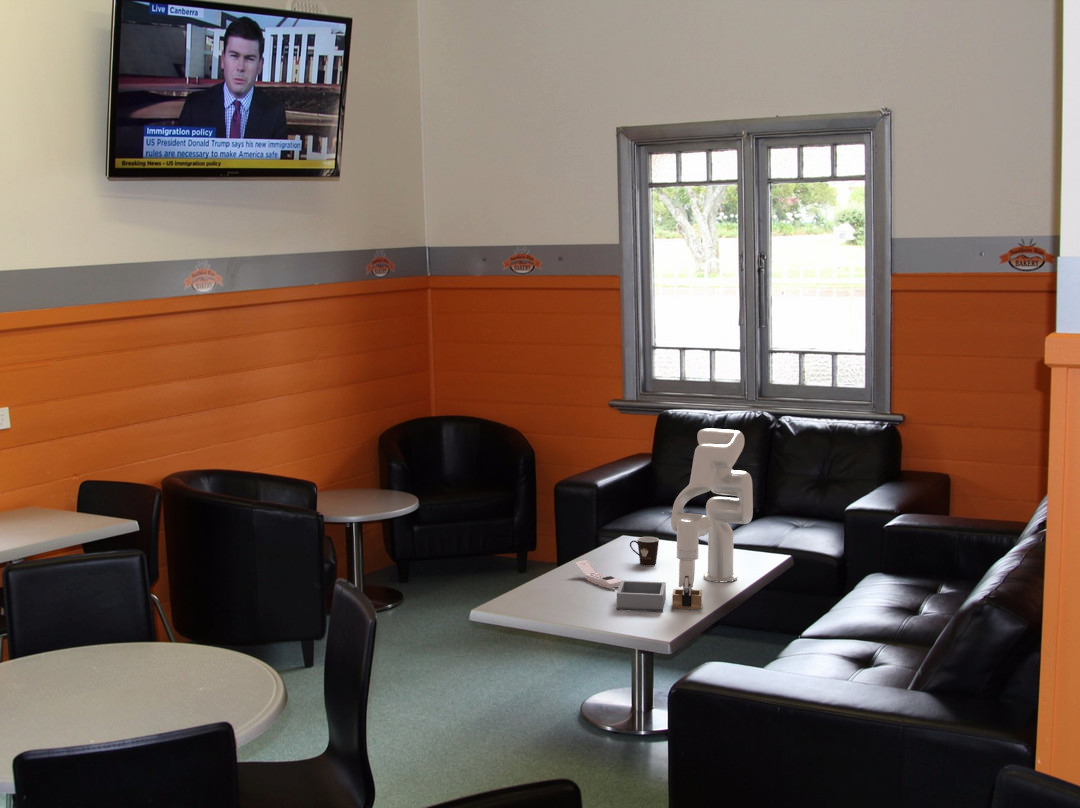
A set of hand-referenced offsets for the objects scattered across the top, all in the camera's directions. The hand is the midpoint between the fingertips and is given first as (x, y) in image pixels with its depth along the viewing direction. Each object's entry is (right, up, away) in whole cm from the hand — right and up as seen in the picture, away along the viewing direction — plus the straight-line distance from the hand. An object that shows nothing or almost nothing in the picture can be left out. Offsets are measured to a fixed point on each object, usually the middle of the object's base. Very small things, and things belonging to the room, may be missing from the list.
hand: (687, 602), depth 403 cm
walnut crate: (0, -1, 0) cm, 1 cm away
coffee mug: (-9, +6, +57) cm, 58 cm away
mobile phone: (-29, +2, +31) cm, 43 cm away
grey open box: (-16, -1, +3) cm, 16 cm away
